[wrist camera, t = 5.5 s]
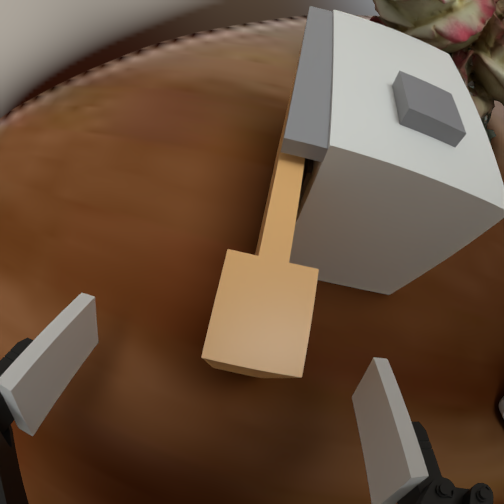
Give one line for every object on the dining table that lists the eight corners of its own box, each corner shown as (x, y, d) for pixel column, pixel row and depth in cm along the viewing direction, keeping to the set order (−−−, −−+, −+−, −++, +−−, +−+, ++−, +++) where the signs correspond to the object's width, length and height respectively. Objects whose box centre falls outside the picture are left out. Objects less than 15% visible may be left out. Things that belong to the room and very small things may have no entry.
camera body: (389, 294, 22) (523, 201, 9) (252, 265, 22) (290, 113, 9) (386, 149, 28) (450, 38, 15) (283, 120, 28) (313, -12, 15)
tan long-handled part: (262, 378, 18) (302, 377, 9) (213, 367, 18) (201, 357, 9) (302, 152, 25) (334, 51, 16) (266, 143, 25) (285, 40, 16)
